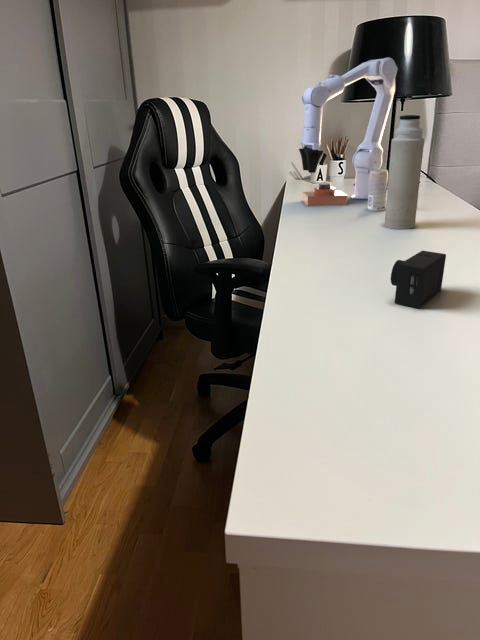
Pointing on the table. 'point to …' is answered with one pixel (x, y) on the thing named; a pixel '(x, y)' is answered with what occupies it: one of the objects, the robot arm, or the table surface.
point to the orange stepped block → (324, 197)
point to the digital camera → (418, 278)
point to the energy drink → (377, 190)
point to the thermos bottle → (404, 174)
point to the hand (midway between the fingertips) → (309, 171)
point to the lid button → (324, 186)
